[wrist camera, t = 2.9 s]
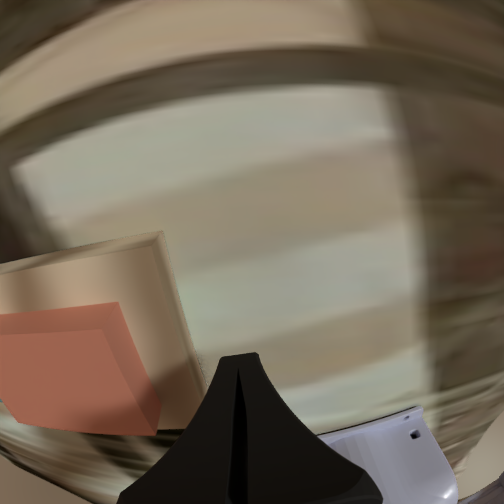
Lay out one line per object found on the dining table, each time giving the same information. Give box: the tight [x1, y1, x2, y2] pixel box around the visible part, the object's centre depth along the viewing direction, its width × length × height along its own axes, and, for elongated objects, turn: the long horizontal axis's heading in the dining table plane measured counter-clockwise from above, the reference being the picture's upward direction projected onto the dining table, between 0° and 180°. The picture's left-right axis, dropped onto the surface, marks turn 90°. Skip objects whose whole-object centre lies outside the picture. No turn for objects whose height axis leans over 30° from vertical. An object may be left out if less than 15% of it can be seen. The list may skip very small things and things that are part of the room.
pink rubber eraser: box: [0, 302, 162, 436], centre depth 12 cm, size 9×6×2 cm, turn 98°
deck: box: [0, 231, 207, 429], centre depth 13 cm, size 13×10×2 cm
